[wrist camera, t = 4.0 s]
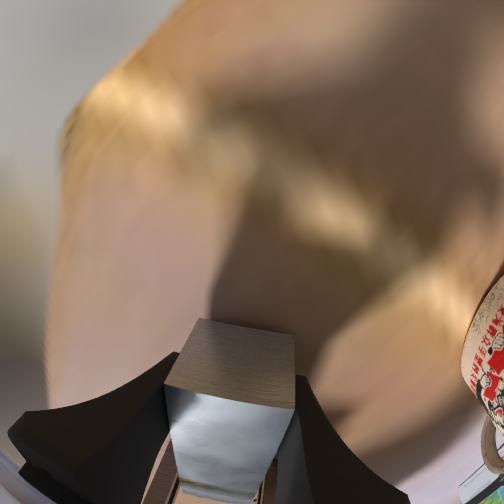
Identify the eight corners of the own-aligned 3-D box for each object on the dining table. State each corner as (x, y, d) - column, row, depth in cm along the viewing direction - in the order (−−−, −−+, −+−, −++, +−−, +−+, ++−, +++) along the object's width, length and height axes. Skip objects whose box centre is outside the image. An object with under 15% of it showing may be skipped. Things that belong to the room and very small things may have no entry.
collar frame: (284, 459, 14) (278, 546, 8) (275, 477, 15) (268, 552, 8) (171, 438, 15) (136, 516, 8) (173, 457, 16) (145, 527, 9)
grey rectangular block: (198, 317, 11) (162, 382, 7) (295, 335, 11) (296, 409, 7) (197, 445, 15) (182, 492, 11) (256, 457, 14) (249, 505, 11)
